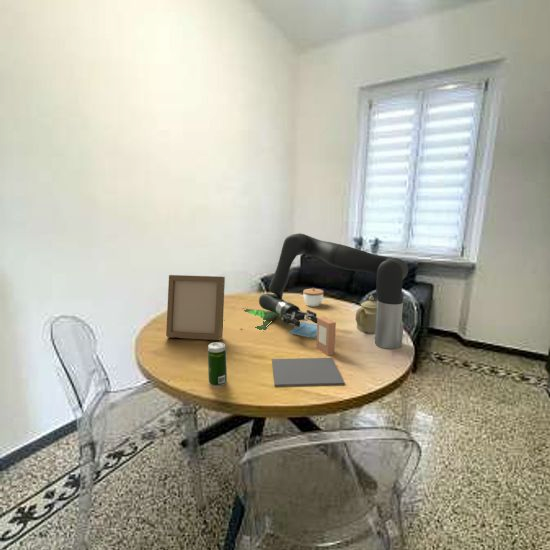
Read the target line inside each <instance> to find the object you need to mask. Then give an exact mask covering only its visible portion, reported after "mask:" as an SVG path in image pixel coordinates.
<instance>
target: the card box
mask: <svg viewBox="0 0 550 550" xmlns="http://www.w3.org/2000/svg"><path fill="white" fill-rule="evenodd" d="M336 323H337V322H336V321H334V320H333V319H331V318H328V317H326V316H320V317H317V323H316V325H317V338H316V349H317V350H319V352H322V353H323V354H324V355H327V356H331V355H335V354H336V353H335V351H336V349H335V348H336V347H335V346H336V325H337V324H336Z"/></svg>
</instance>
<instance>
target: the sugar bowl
mask: <svg viewBox="0 0 550 550" xmlns="http://www.w3.org/2000/svg"><path fill="white" fill-rule="evenodd" d="M368 299H369V300H366V301H364V302H362V303H360V305H361V306H360V307H358V308H357V310H356V312H355V321H356V330H358V331H360V332H362V331H363V332H362V333H366V332H368V333H367V334H375V328H376V313H377V301H374V300H375V298H374V296H373V295H372V294H371V295H370V296H369V298H368Z"/></svg>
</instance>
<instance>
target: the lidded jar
mask: <svg viewBox="0 0 550 550" xmlns="http://www.w3.org/2000/svg"><path fill="white" fill-rule="evenodd" d="M302 292H303V301H304V303H305V304H306V305H307V306H308V307H312V308H314V307H315V308H316V307H319V306H320V305H321V304H322V302H323V299H324V294H325V293H324V292H325V291H324V290H323V289H320V288H315V287H312V288H305V289H303V291H302Z"/></svg>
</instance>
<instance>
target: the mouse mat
mask: <svg viewBox="0 0 550 550" xmlns="http://www.w3.org/2000/svg"><path fill="white" fill-rule="evenodd" d="M245 309H246V310H244V311H245V312H248V313H250V314H251V313H252V314H254V315H255V316H256V315H257V316H260V317H261V318H263V320H266V321H265V322H264V321H263V325H261V326H257V327H255V328H257V329H259V330H262V329H263V330H265V331H266V330H267V329H268V328H269V327H270V326H271V325H272V324H273V323H274V321H275V320H276V319H277V318H278V316H279V315H278V314H276V313H275V312H272V311H269V310H260V309H251V308H245ZM276 317H277V318H276ZM271 321H272V322H271ZM270 322H271V323H270ZM269 323H270V324H269ZM268 324H269V325H270V326H269V325H268ZM267 325H268V326H269V327H268V326H267ZM266 326H267V327H268V328H267V327H266Z"/></svg>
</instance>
